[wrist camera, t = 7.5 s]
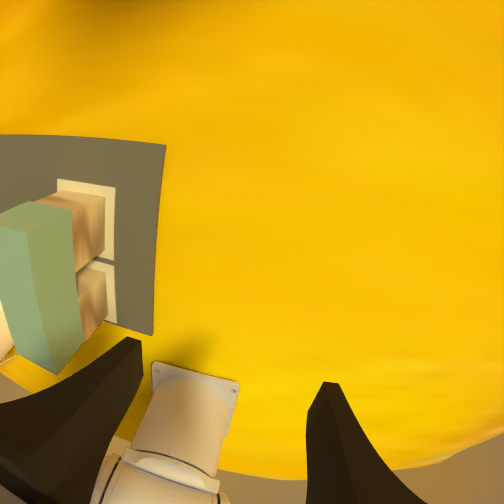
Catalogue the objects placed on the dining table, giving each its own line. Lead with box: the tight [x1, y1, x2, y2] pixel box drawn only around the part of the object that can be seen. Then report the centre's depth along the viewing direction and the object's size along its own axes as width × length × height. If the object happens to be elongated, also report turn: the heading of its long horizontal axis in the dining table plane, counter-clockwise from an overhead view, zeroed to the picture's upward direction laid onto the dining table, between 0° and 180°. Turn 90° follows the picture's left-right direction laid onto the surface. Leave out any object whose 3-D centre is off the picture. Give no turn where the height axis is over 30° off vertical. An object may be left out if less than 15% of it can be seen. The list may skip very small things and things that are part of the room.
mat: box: [0, 135, 166, 336], centre depth 21 cm, size 15×18×1 cm
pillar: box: [35, 190, 106, 273], centre depth 18 cm, size 4×4×4 cm
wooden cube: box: [75, 266, 108, 343], centre depth 21 cm, size 4×4×4 cm
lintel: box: [0, 201, 85, 375], centre depth 16 cm, size 10×4×4 cm, turn 169°
